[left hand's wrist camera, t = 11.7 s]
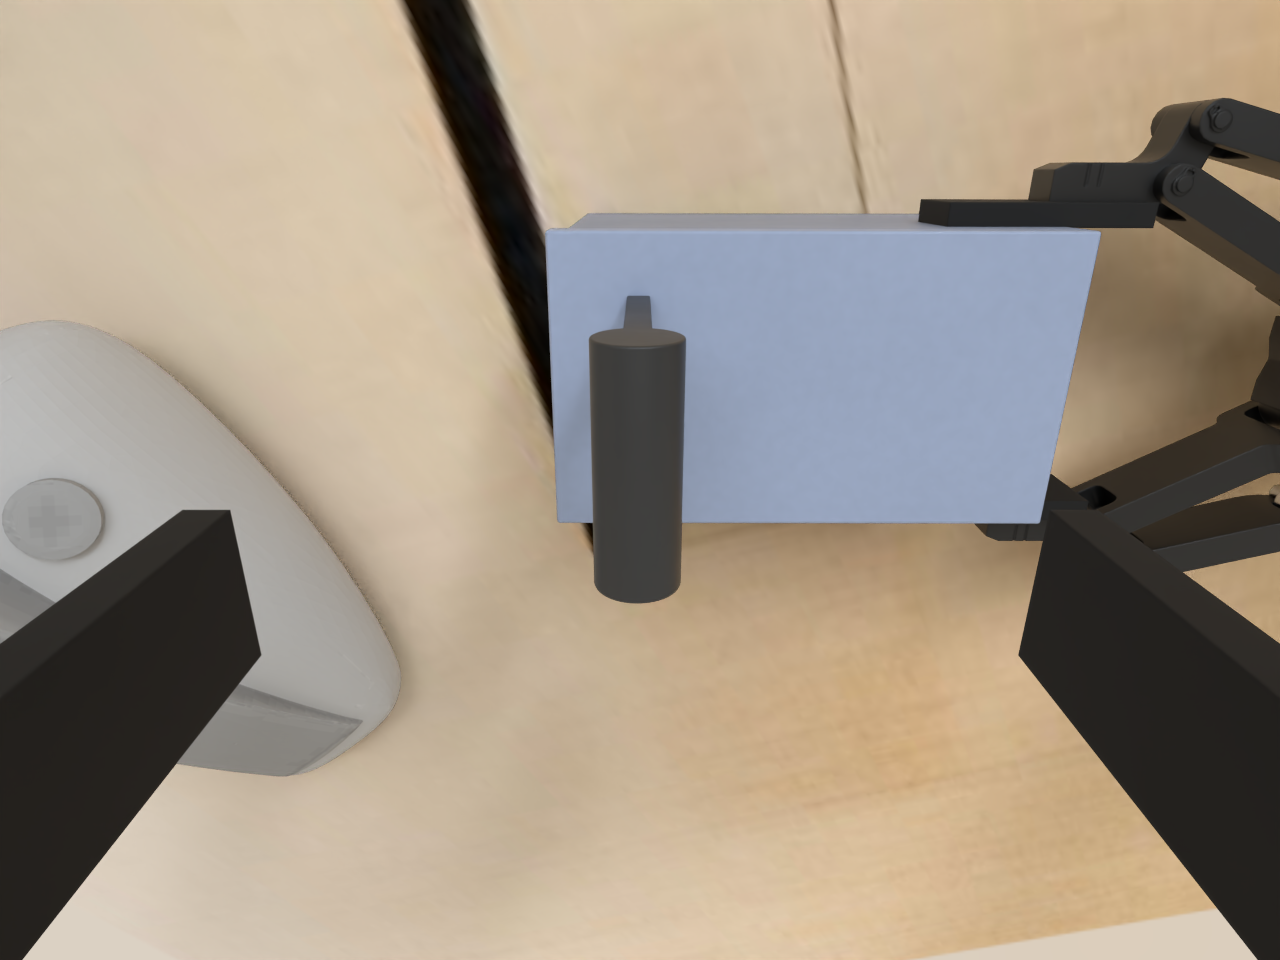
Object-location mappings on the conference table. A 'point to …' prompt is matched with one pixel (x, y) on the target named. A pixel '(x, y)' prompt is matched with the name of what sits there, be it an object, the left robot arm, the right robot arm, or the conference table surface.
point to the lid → (803, 380)
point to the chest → (767, 221)
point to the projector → (147, 498)
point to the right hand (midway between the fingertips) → (912, 364)
